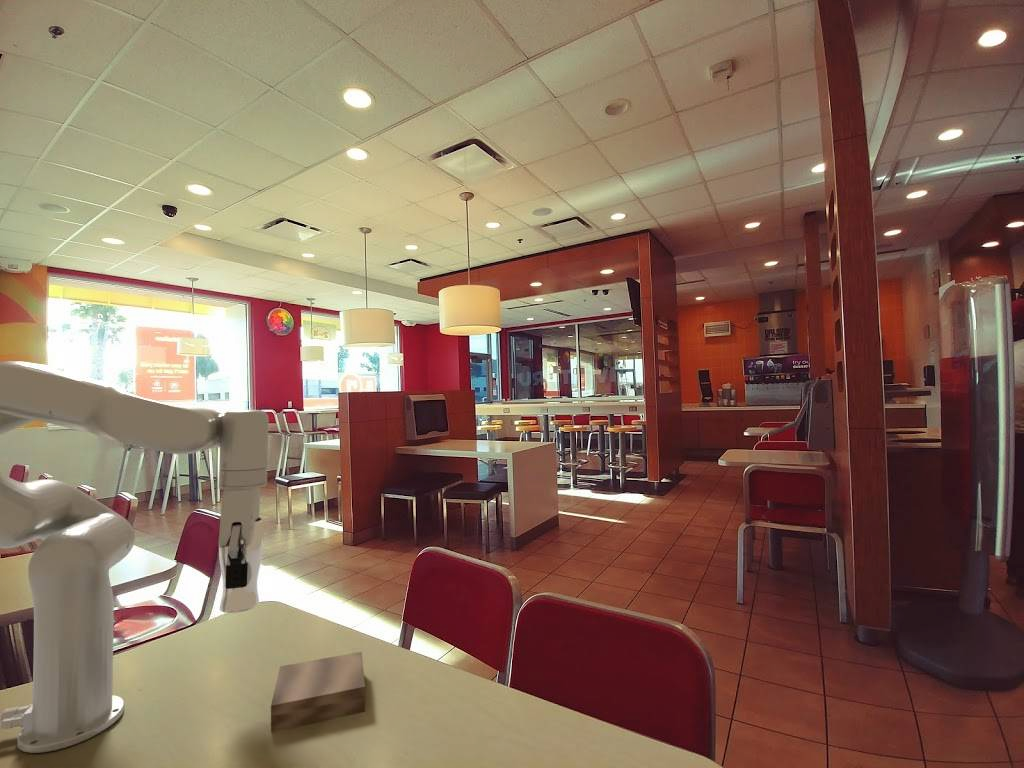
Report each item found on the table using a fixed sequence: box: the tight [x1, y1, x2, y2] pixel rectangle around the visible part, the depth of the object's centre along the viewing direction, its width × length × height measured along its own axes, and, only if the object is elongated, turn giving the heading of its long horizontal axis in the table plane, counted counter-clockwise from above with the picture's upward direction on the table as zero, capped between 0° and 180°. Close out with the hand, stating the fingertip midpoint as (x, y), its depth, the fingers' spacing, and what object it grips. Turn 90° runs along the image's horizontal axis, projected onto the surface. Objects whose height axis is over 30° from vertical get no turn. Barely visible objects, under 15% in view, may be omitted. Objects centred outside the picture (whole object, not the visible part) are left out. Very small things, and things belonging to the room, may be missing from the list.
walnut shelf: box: [270, 651, 366, 733], centre depth 83 cm, size 14×12×4 cm
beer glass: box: [218, 516, 265, 614], centre depth 86 cm, size 7×7×15 cm
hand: (240, 579), depth 86 cm, fingers closed on beer glass, 6 cm apart
